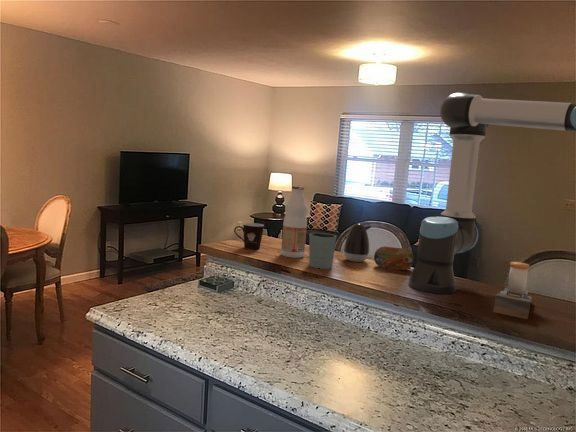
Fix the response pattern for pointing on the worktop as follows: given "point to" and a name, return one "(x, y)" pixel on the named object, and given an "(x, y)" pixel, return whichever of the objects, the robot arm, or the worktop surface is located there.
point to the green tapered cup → (321, 250)
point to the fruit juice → (295, 224)
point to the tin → (394, 258)
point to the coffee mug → (251, 235)
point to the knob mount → (512, 304)
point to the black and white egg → (357, 243)
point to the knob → (517, 278)
